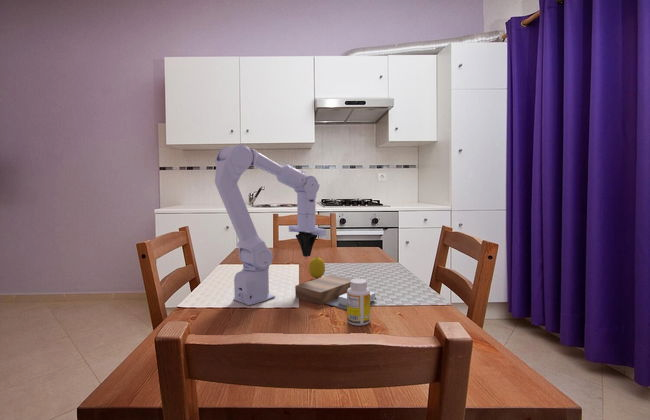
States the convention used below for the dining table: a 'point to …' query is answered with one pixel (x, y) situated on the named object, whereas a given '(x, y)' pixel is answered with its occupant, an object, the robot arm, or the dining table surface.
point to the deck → (323, 289)
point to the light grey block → (344, 298)
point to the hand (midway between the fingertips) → (306, 256)
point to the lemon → (316, 267)
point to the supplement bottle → (358, 303)
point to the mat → (337, 304)
